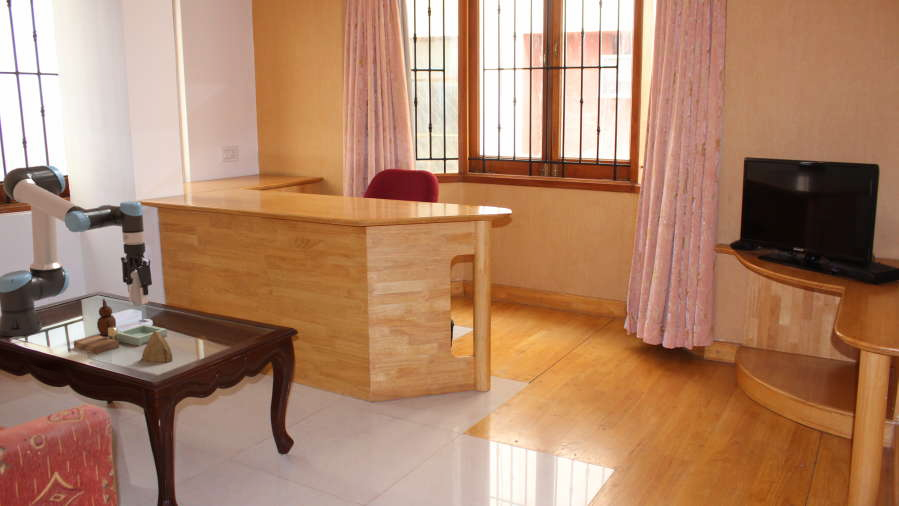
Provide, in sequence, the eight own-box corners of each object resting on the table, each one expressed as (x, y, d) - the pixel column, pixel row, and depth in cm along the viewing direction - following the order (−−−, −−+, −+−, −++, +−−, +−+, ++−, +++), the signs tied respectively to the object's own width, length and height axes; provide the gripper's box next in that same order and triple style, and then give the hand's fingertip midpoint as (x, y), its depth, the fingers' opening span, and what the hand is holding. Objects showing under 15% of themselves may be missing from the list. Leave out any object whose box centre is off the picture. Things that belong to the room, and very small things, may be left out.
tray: (116, 340, 291) (115, 333, 291) (144, 331, 302) (143, 324, 302) (139, 345, 285) (138, 338, 285) (167, 336, 296) (166, 329, 296)
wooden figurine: (108, 337, 295) (105, 300, 292) (95, 336, 296) (92, 299, 293) (119, 332, 301) (116, 295, 298) (106, 331, 303) (103, 294, 300)
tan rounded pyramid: (181, 353, 270) (170, 343, 277) (166, 339, 265) (155, 328, 272) (157, 376, 267) (146, 364, 274) (141, 361, 261) (131, 350, 268)
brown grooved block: (74, 348, 283) (73, 341, 283) (96, 342, 291) (95, 334, 290) (97, 355, 276) (96, 347, 275) (119, 348, 283) (118, 341, 283)
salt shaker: (142, 301, 295) (139, 269, 292) (150, 304, 292) (147, 271, 289) (128, 304, 291) (125, 271, 288) (135, 307, 287) (133, 273, 284)
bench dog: (107, 343, 288) (105, 328, 287) (114, 341, 290) (112, 326, 289) (112, 344, 286) (111, 329, 285) (119, 342, 289) (117, 327, 288)
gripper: (108, 242, 287) (114, 301, 292) (143, 246, 279) (147, 307, 283) (125, 238, 294) (130, 296, 299) (159, 243, 285) (164, 302, 290)
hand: (139, 301), depth 291 cm, fingers closed on salt shaker, 6 cm apart
